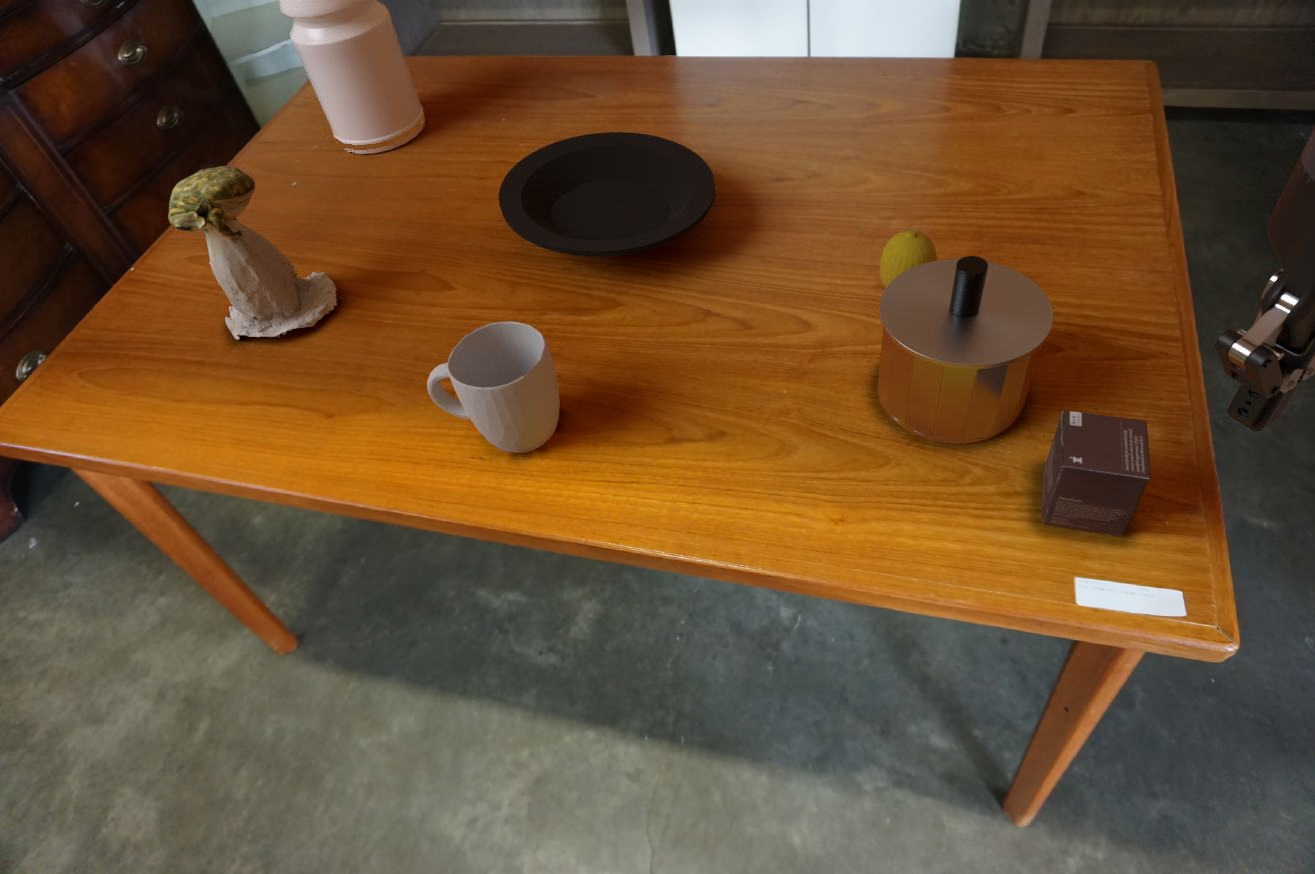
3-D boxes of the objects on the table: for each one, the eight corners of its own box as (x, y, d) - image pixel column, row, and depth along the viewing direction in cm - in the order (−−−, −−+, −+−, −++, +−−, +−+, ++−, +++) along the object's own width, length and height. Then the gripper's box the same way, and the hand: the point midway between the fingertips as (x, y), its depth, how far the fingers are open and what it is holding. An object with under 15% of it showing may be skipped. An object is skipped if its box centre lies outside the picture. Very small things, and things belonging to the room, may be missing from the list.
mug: (579, 398, 83) (557, 321, 76) (556, 467, 77) (529, 391, 70) (461, 393, 86) (429, 318, 78) (430, 459, 80) (392, 385, 73)
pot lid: (1088, 326, 68) (1106, 271, 64) (958, 400, 65) (969, 346, 61) (965, 249, 77) (974, 196, 73) (845, 310, 73) (848, 258, 69)
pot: (1054, 401, 75) (1080, 320, 68) (944, 466, 72) (960, 388, 65) (952, 327, 83) (966, 248, 76) (849, 383, 80) (854, 305, 73)
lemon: (937, 311, 85) (947, 245, 79) (881, 316, 85) (887, 251, 80) (926, 277, 89) (935, 212, 83) (873, 282, 89) (878, 218, 83)
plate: (763, 217, 100) (761, 175, 96) (618, 322, 90) (609, 281, 86) (608, 151, 115) (600, 112, 111) (469, 235, 105) (456, 196, 101)
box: (1123, 539, 65) (1152, 480, 59) (1039, 525, 67) (1060, 466, 61) (1121, 480, 68) (1148, 419, 63) (1042, 467, 70) (1062, 407, 65)
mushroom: (326, 338, 95) (248, 197, 81) (217, 354, 95) (121, 216, 82) (345, 275, 103) (276, 137, 89) (244, 290, 103) (161, 155, 90)
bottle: (319, 149, 126) (224, -53, 106) (376, 105, 134) (299, -91, 114) (390, 161, 121) (305, -50, 100) (445, 115, 129) (377, -90, 108)
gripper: (1395, 257, 34) (1233, 509, 47) (1581, 141, 37) (1382, 406, 50) (1226, 181, 39) (1120, 430, 52) (1405, 84, 42) (1264, 340, 55)
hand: (1250, 418), depth 51 cm, fingers closed
